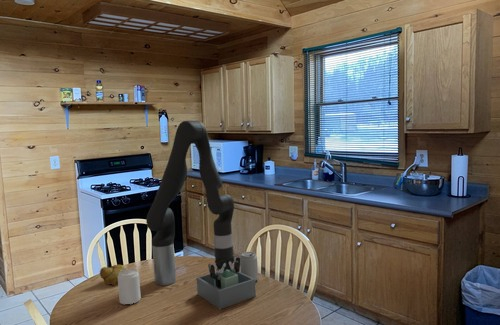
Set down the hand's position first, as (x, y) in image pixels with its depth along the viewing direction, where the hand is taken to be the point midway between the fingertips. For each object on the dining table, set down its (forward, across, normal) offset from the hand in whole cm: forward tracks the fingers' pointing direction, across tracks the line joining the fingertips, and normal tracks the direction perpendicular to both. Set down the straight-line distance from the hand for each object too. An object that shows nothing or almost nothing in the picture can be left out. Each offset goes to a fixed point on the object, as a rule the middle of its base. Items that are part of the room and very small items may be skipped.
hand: (225, 285), depth 160 cm
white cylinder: (+4, +32, -21) cm, 39 cm away
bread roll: (+4, +30, -46) cm, 55 cm away
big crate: (+4, 0, 0) cm, 4 cm away
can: (+4, -16, -6) cm, 18 cm away
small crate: (+1, 0, 0) cm, 1 cm away
